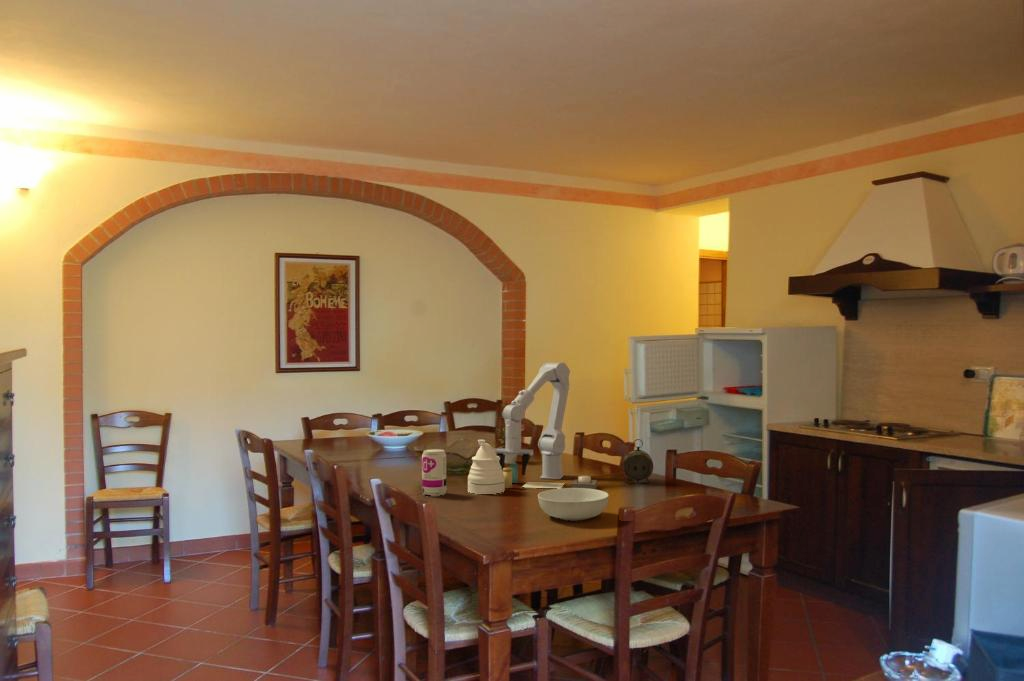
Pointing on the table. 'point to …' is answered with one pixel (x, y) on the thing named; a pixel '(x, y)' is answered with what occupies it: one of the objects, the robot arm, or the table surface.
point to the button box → (585, 484)
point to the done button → (584, 479)
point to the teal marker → (514, 472)
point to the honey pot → (486, 472)
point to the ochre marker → (508, 477)
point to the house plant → (507, 457)
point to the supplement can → (434, 472)
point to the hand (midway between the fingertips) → (513, 474)
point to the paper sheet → (543, 485)
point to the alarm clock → (638, 465)
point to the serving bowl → (573, 503)
